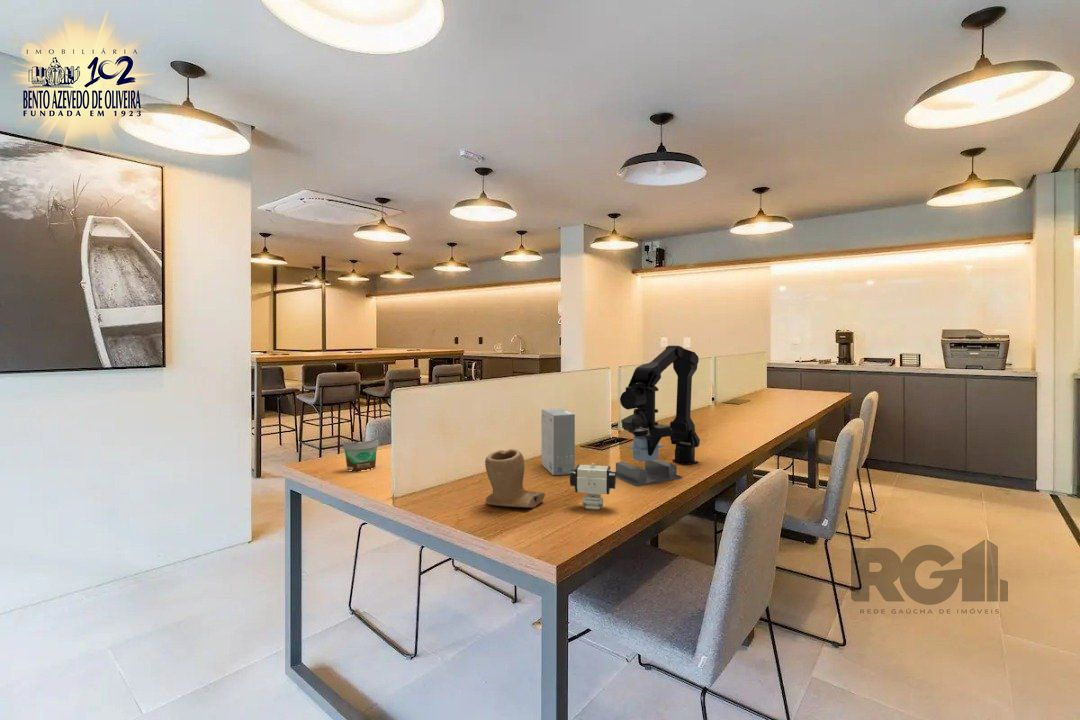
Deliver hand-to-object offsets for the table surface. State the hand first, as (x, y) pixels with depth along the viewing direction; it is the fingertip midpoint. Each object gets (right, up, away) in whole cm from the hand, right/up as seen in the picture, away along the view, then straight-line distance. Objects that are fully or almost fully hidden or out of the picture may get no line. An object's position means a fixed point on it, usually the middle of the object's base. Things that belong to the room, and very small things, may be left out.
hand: (645, 454), depth 161 cm
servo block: (0, -2, 0) cm, 2 cm away
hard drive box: (-28, -7, +10) cm, 31 cm away
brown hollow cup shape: (-42, -9, -26) cm, 50 cm away
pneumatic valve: (-20, -9, -29) cm, 36 cm away
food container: (-94, -8, +10) cm, 95 cm away
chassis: (0, -7, 0) cm, 7 cm away
